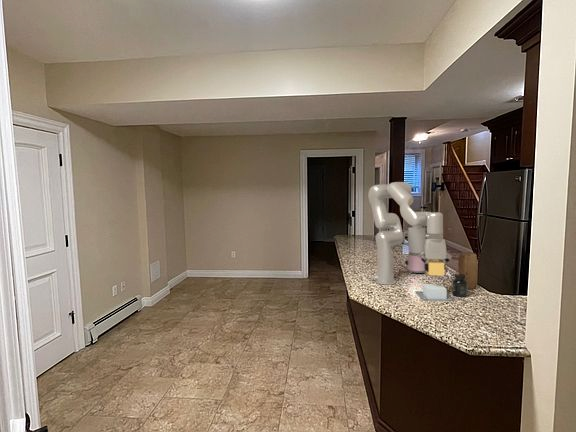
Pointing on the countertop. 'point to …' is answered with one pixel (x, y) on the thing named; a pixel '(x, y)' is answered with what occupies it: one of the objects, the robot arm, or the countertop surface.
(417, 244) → the blender
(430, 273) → the yellow cube
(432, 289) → the grey brick
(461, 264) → the block
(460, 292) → the supplement bottle
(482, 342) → the countertop surface
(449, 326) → the countertop surface
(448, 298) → the building plate
